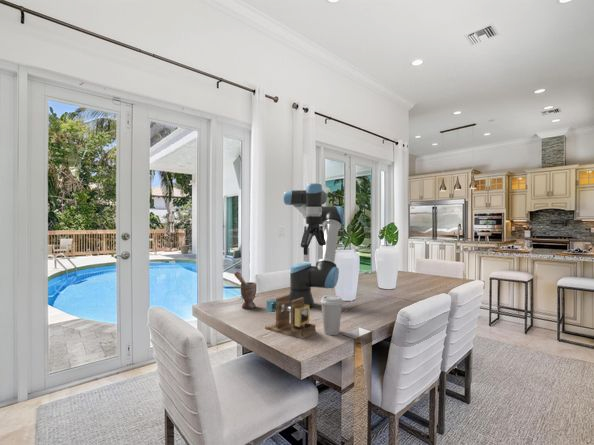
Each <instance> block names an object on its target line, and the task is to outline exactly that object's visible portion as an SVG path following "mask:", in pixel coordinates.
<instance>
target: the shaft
mask: <svg viewBox="0 0 594 445" xmlns="http://www.w3.org/2000/svg"><path fill="white" fill-rule="evenodd" d="M282 311H286V312H290V313H289V314H291V307H290V306H285V305H284V304H283V305H282ZM266 312H268V313H274V312H275V313H276V298H274V299H273V298H272V299H270V300H269V299H268V300H266ZM301 315H304V316H307V315H308V311H307V310H303V311H301Z"/></svg>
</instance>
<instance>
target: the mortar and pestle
mask: <svg viewBox="0 0 594 445" xmlns="http://www.w3.org/2000/svg"><path fill="white" fill-rule="evenodd" d="M234 277H235V278H236V279H237V280H238V281H239V282H240V295H241V298H242V300H243V301H244V302H243V303H242V306H241V309H243V310H252V309H254V308H256V307H257V306H256V303H254V300H255V298H256V294H257V282H255V281H254V282H252V281H250V282H249V281H245V280H244V278H243V276H242V274H241V273H240V272H239V271H235V272H234Z"/></svg>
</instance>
